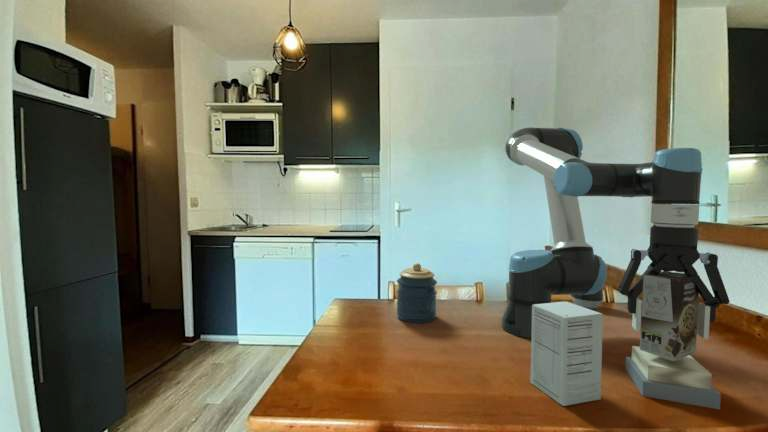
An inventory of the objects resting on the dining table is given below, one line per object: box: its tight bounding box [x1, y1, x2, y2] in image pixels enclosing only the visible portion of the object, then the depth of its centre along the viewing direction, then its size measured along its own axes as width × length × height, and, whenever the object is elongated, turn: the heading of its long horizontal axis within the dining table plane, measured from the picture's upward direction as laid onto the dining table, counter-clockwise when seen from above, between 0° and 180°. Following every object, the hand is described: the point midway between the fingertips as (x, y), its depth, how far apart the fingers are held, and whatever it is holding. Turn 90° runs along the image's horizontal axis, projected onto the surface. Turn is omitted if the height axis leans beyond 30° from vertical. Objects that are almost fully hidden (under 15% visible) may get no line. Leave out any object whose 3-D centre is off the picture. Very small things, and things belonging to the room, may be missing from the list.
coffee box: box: [639, 270, 701, 361], centre depth 73 cm, size 9×6×16 cm
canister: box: [396, 262, 438, 324], centre depth 115 cm, size 13×13×18 cm
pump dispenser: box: [570, 288, 604, 310], centre depth 128 cm, size 10×10×15 cm
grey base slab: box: [625, 356, 722, 410], centre depth 73 cm, size 12×12×4 cm
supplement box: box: [529, 301, 604, 407], centre depth 71 cm, size 10×9×17 cm
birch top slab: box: [631, 345, 713, 390], centre depth 73 cm, size 10×10×3 cm
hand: (668, 332), depth 73 cm, fingers open, 10 cm apart
